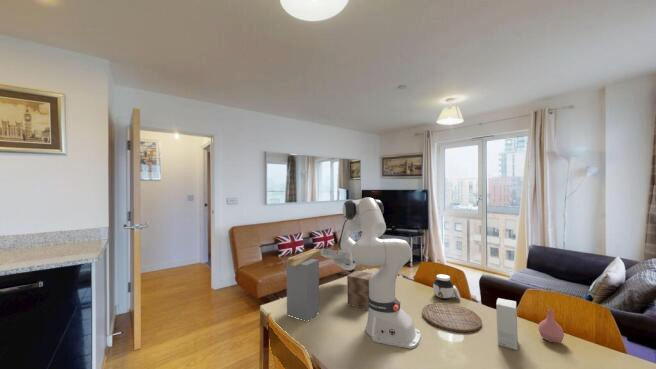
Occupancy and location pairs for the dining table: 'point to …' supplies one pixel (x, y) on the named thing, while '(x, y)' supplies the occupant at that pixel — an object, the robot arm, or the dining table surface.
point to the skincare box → (507, 323)
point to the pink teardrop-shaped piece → (551, 329)
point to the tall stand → (303, 289)
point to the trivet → (452, 318)
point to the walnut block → (358, 288)
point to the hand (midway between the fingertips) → (330, 250)
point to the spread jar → (444, 288)
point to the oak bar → (304, 257)
